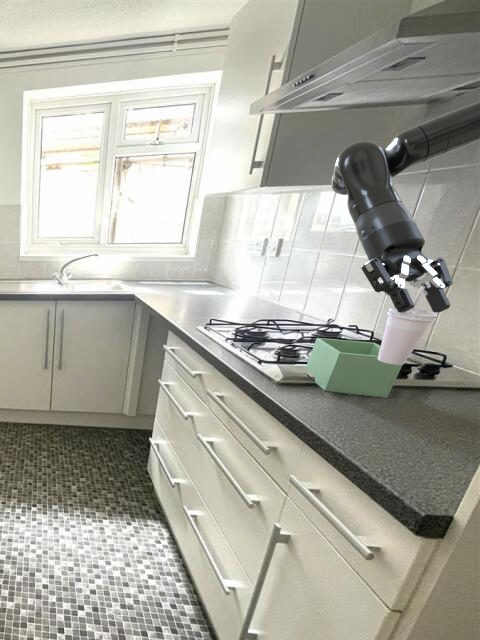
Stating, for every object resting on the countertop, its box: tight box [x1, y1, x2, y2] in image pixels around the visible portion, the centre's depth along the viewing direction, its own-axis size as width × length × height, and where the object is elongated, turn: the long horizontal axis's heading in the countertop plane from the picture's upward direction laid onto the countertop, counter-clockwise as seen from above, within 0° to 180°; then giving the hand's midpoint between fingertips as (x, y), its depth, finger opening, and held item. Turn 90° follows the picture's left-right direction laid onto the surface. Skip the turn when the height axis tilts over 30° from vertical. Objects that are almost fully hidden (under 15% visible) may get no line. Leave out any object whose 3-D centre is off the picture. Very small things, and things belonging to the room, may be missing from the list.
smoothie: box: [378, 286, 439, 366], centre depth 76 cm, size 6×6×14 cm
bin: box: [305, 337, 403, 399], centre depth 101 cm, size 12×12×10 cm
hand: (424, 309), depth 73 cm, fingers closed on smoothie, 6 cm apart
